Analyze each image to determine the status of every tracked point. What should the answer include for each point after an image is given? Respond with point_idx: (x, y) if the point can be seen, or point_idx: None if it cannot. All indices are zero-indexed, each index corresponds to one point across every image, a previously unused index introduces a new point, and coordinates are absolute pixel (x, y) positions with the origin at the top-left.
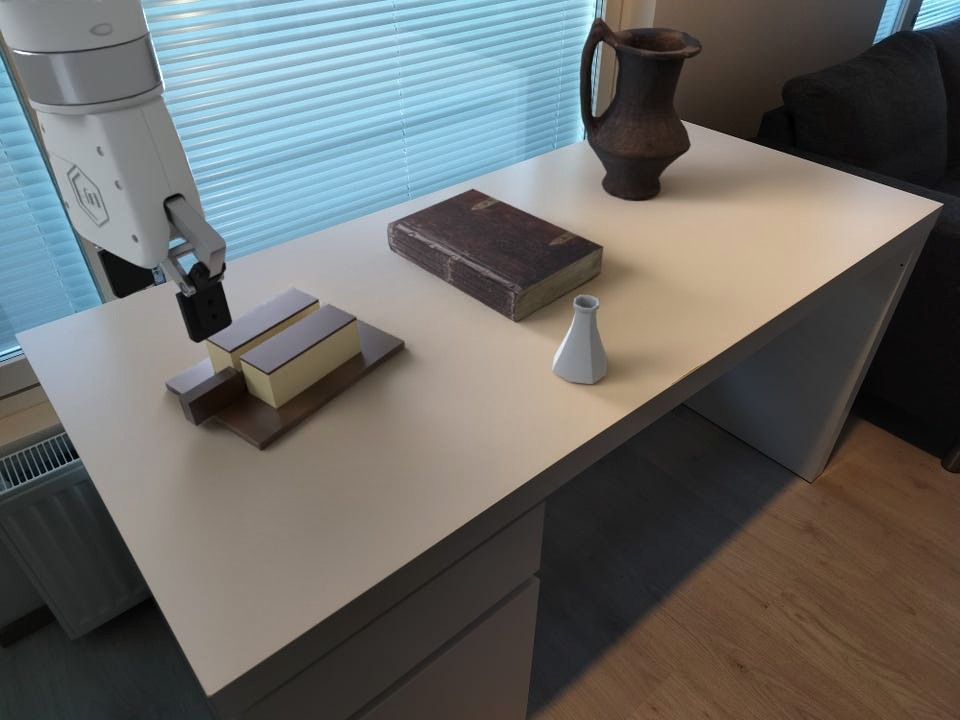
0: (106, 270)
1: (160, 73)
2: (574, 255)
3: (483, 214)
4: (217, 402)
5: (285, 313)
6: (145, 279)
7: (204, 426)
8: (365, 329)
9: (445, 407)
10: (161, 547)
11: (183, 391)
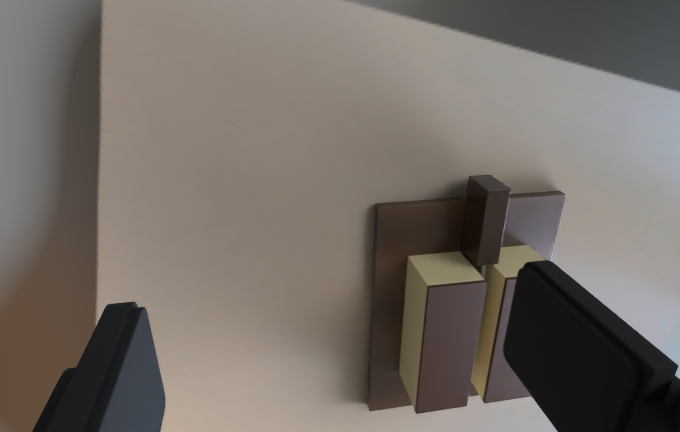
0: (599, 319)
1: None
2: None
3: None
4: (471, 216)
5: (500, 363)
6: (516, 352)
7: (467, 183)
8: None
9: (252, 375)
10: (346, 29)
11: (532, 200)
